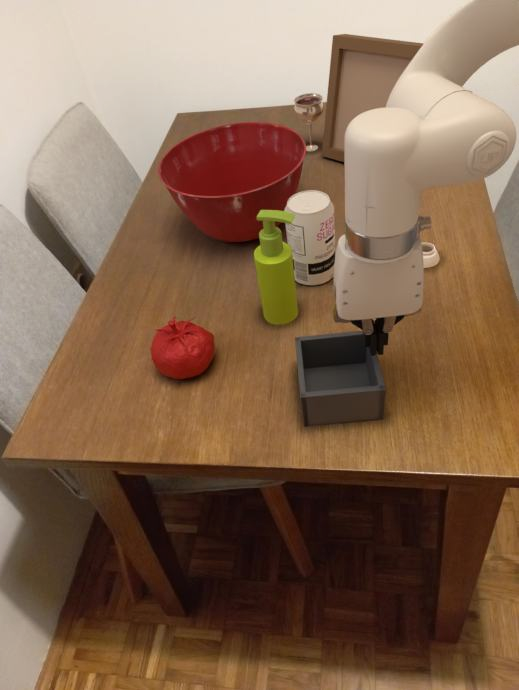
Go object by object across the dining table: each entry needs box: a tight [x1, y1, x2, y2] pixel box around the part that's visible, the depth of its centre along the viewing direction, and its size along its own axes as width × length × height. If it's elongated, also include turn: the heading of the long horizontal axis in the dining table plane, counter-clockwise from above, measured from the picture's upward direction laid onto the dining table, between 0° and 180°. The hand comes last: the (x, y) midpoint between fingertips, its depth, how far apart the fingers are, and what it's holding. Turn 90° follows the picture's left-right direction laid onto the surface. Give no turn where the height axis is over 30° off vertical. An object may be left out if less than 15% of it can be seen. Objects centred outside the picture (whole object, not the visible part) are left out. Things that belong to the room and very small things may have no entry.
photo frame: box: [321, 33, 425, 163], centre depth 113 cm, size 15×22×25 cm
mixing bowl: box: [157, 121, 307, 243], centre depth 105 cm, size 28×28×15 cm
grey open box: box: [294, 329, 387, 428], centre depth 74 cm, size 7×11×11 cm
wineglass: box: [293, 92, 324, 152], centre depth 125 cm, size 7×7×12 cm
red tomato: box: [150, 315, 216, 380], centre depth 81 cm, size 10×10×9 cm
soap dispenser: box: [253, 210, 299, 326], centre depth 82 cm, size 6×7×20 cm
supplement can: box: [284, 189, 336, 286], centre depth 91 cm, size 8×8×15 cm
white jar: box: [421, 242, 441, 269], centre depth 93 cm, size 5×3×5 cm
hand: (375, 347), depth 70 cm, fingers closed
